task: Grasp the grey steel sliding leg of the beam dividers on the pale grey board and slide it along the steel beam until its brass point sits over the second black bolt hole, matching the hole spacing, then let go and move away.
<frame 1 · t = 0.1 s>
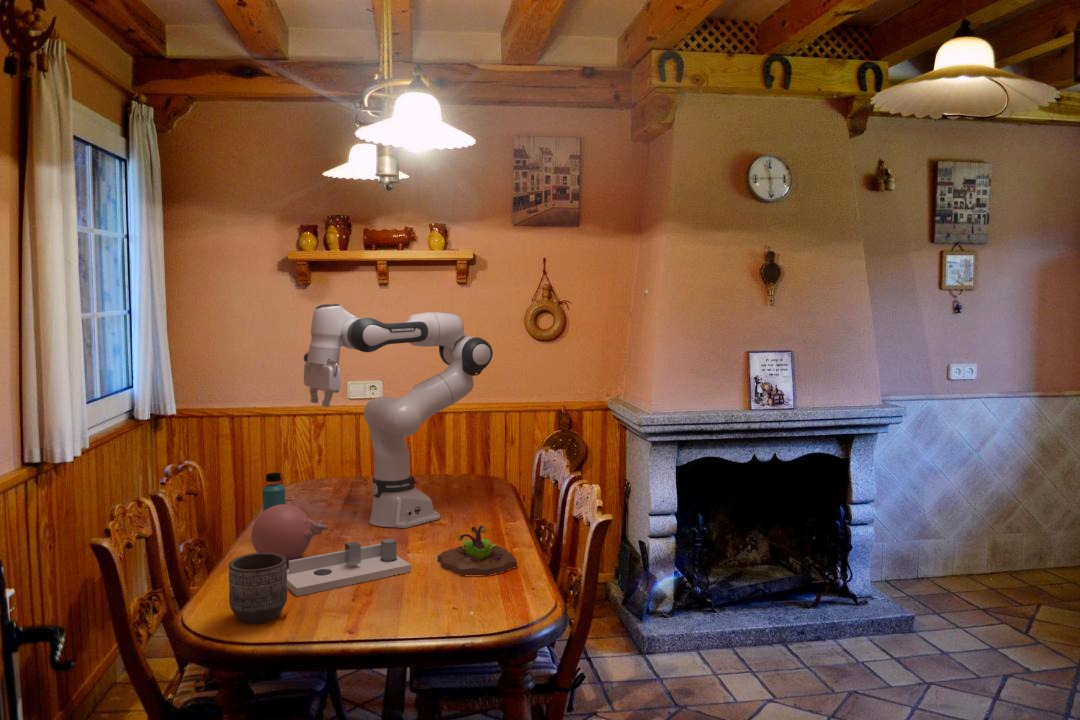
hand: (319, 404, 237), 39 cm above the table, tool pointing down, fingers open, 8 cm apart
beverage bottle: (274, 541, 233), on the table
plant: (478, 565, 216), on the table
planter: (258, 617, 179), on the table
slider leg: (351, 553, 207), point 5 cm above the table, slide at 6.0 cm
balloon: (291, 562, 215), on the table
divider board: (345, 575, 205), on the table
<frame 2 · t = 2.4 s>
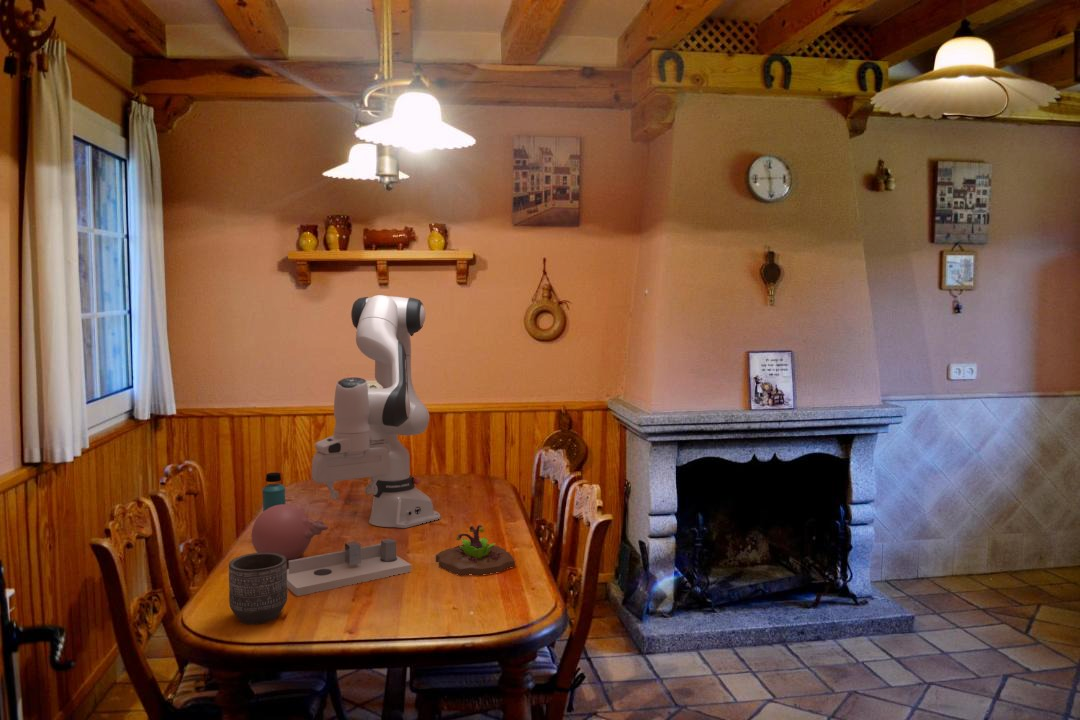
hand: (352, 495, 205), 20 cm above the table, tool pointing down, fingers open, 8 cm apart
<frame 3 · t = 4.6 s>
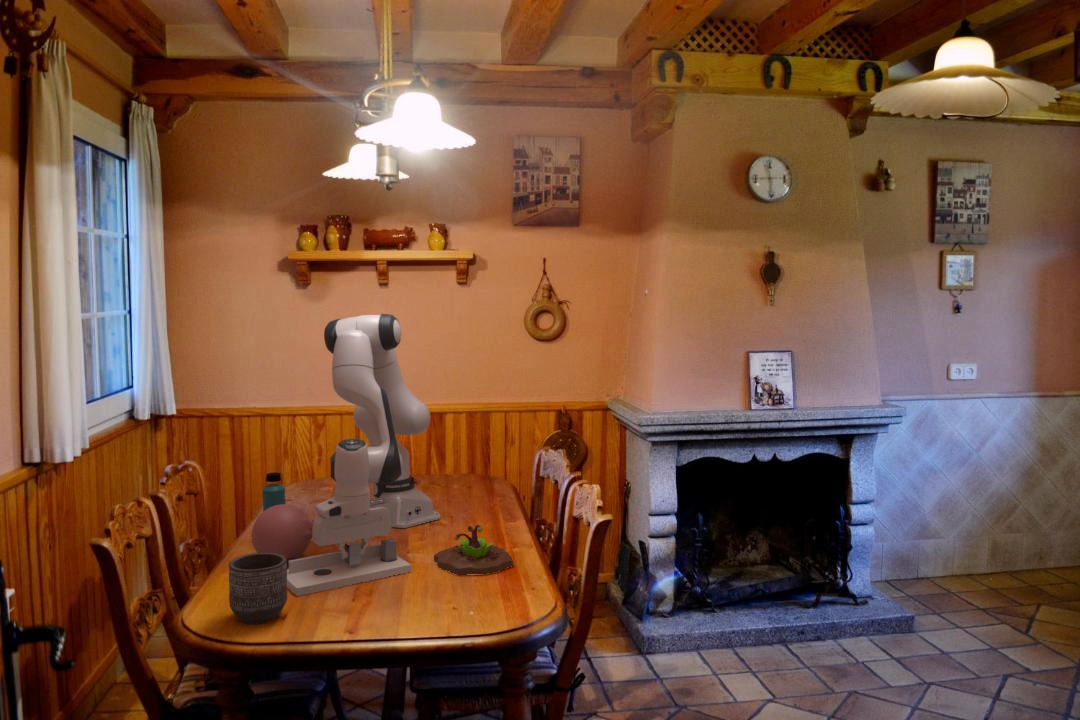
hand: (352, 556, 206), 5 cm above the table, tool pointing down, fingers closed on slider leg, 3 cm apart
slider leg: (351, 553, 207), point 5 cm above the table, slide at 6.0 cm, touching gripper
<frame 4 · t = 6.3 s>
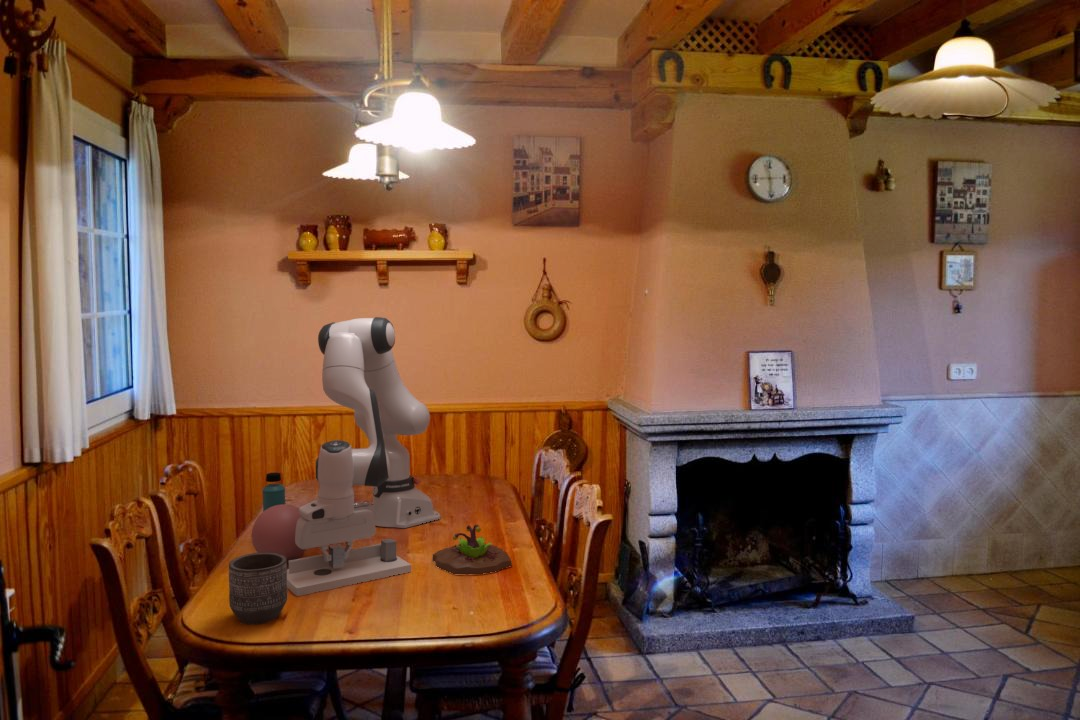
hand: (336, 559, 204), 5 cm above the table, tool pointing down, fingers closed on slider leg, 3 cm apart
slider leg: (335, 556, 204), point 5 cm above the table, slide at 10.4 cm, touching gripper
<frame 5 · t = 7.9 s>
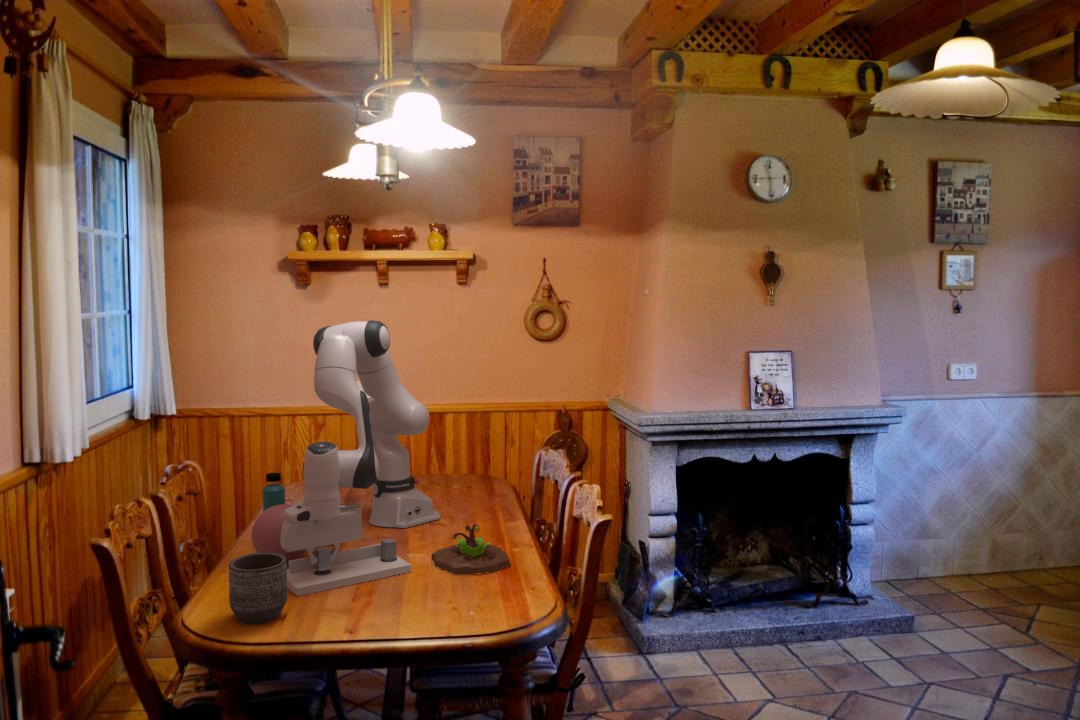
hand: (322, 562, 201), 5 cm above the table, tool pointing down, fingers closed on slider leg, 3 cm apart
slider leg: (321, 558, 202), point 5 cm above the table, slide at 14.0 cm, touching gripper
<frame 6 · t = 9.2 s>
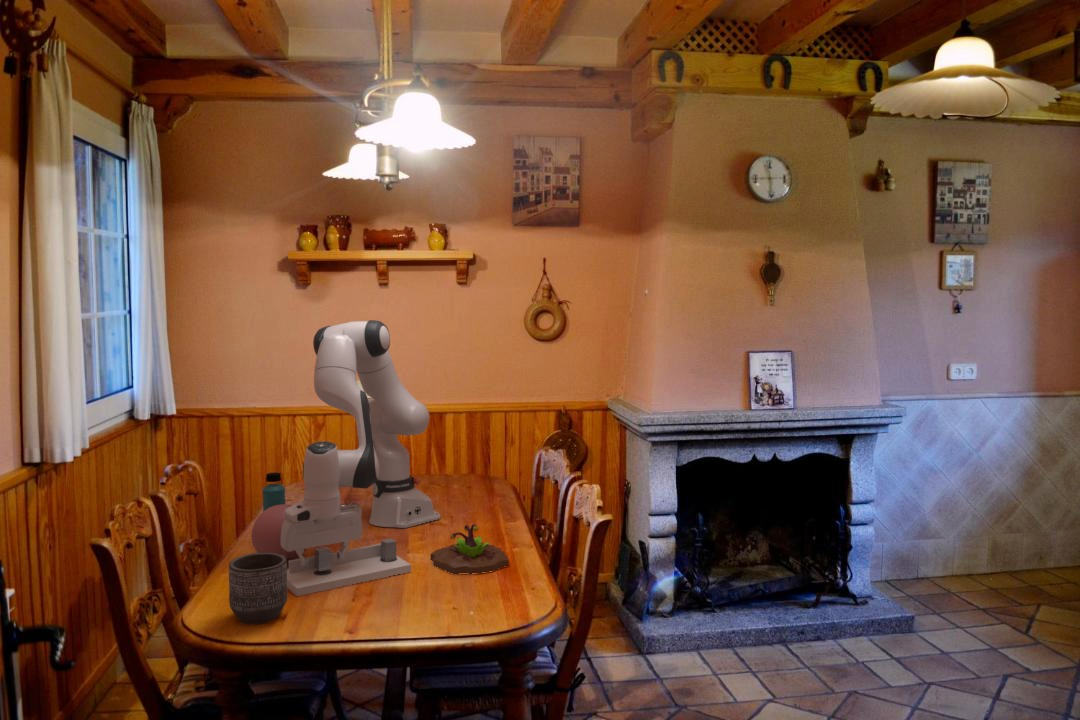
hand: (322, 561, 202), 5 cm above the table, tool pointing down, fingers open, 8 cm apart
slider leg: (321, 558, 202), point 5 cm above the table, slide at 14.0 cm
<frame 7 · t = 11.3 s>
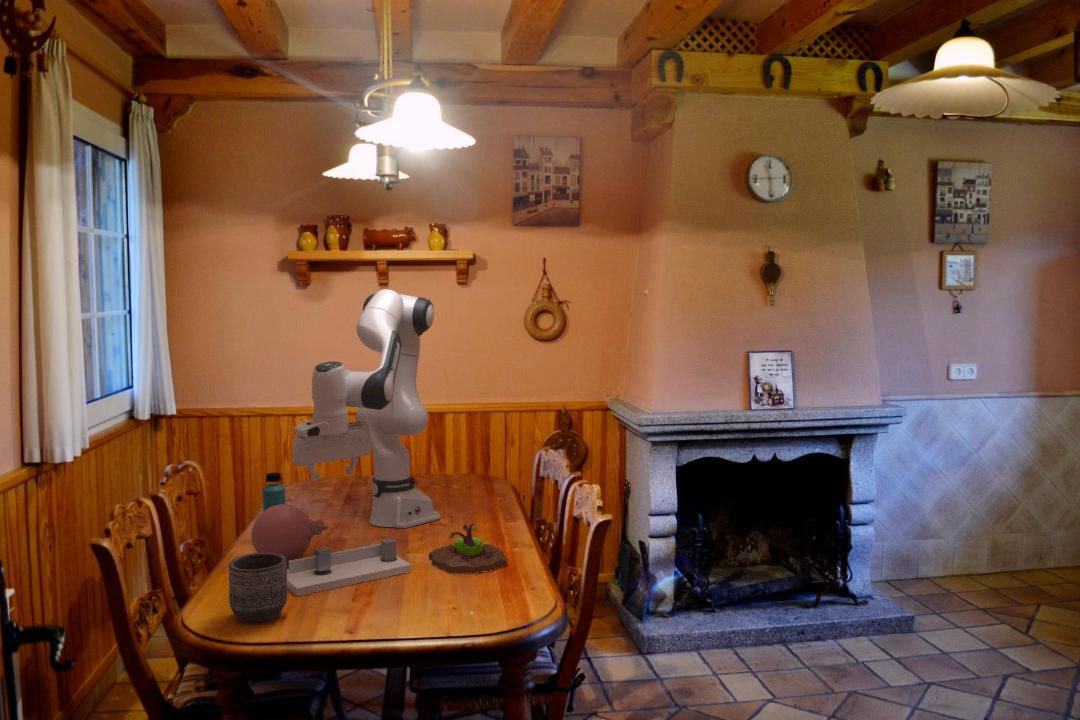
hand: (333, 477, 210), 24 cm above the table, tool pointing down, fingers open, 8 cm apart
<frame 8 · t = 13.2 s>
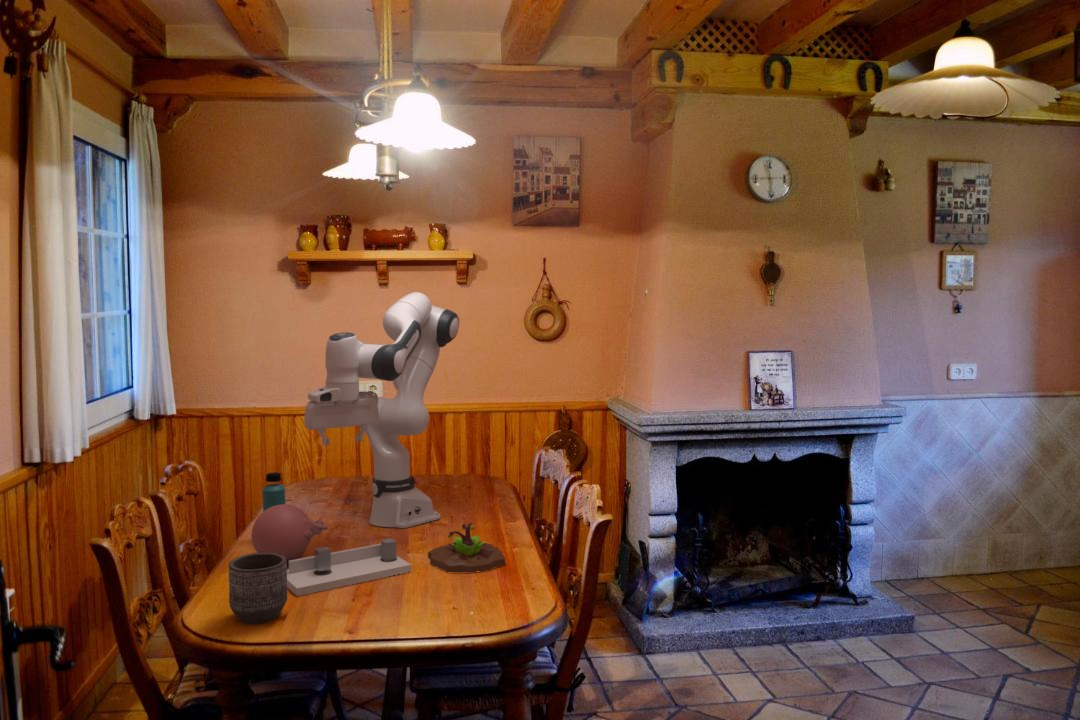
hand: (342, 443, 219), 31 cm above the table, tool pointing down, fingers open, 8 cm apart
at the end: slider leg slide at 14.0 cm; the gripper is holding nothing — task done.
